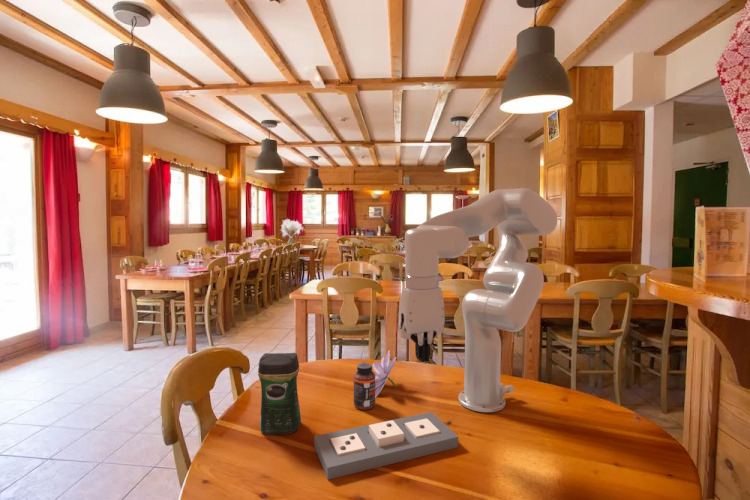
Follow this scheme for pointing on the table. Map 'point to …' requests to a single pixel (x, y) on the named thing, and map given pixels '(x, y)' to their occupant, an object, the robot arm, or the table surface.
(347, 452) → the tile
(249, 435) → the table surface
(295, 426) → the coffee jar
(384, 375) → the water lily
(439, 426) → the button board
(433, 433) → the tile
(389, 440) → the tile
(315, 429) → the table surface
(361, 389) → the supplement bottle
